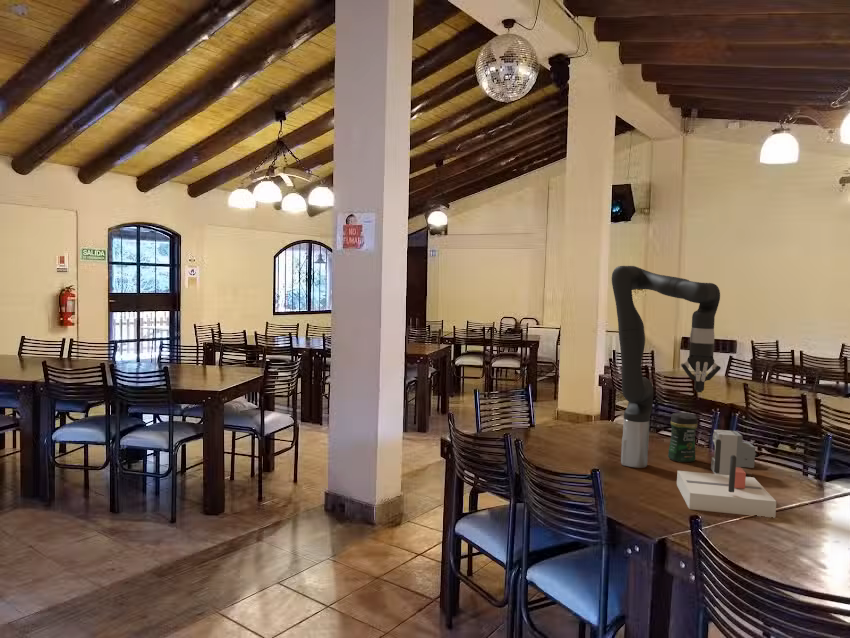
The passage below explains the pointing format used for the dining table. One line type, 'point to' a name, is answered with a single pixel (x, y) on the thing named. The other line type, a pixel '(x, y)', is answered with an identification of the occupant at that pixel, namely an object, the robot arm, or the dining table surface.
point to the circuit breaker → (733, 451)
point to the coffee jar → (682, 437)
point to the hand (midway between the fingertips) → (699, 391)
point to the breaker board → (724, 494)
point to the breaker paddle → (740, 478)
